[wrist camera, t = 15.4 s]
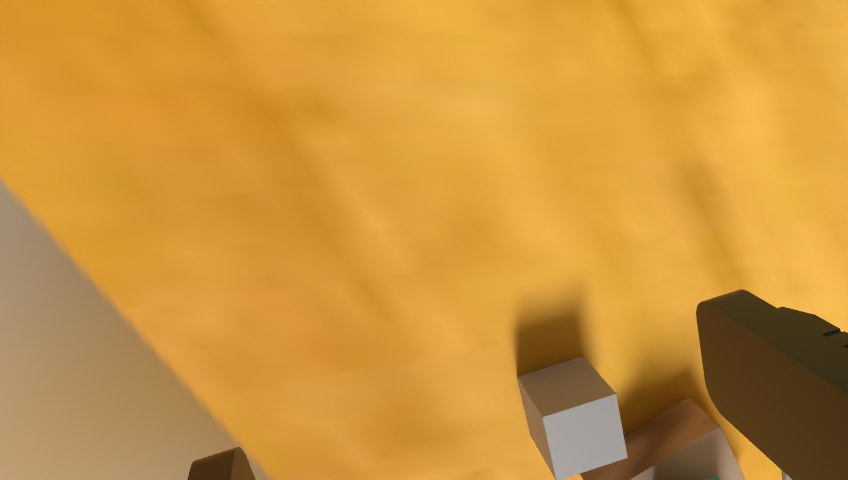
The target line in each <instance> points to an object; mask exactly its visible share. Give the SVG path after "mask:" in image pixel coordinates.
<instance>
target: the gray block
mask: <svg viewBox="0 0 848 480" xmlns="http://www.w3.org/2000/svg"><path fill="white" fill-rule="evenodd" d="M517 379H518V383H519V388H520V392H521V396H522V401H523V405H524V409H525V413H526V418H527V422H528V426H529V431H530V435H531V437H532V439H533V440H534V442H535V444H536V446H537V447H538V449H539V451H540V453H541V455H542V456H543V458H544V460H545V462H546V463H547V465H548V467H549V469H550V470H551V472H552V474H553V476H554V478H555V479H556V480H562V479H565V478H568V477H571V476H574V475H577V474H580V473H583V472H586V471H589V470H592V469H595V468H598V467H601V466H604V465H607V464H610V463H613V462H616V461H619V460H622V459H626V458H628V457H627V452H626V446H625V440H624V435H623V429H622V424H621V418H620V413H619V407H618V402H617V396H616V393H615V392H614V391H613V390H612V389H611V387H610V386H609V385H608V384H607V383H606V382H605V380H604V379H603V378H602V377H601V376H600V375H599V374H598V372H597V371H596V370H595V369H594V368H593V367H592V365H591V364H590V363H589V362H588V361H587V360H586V359H585V357H584V356H581V357H578V358H575V359H572V360H568V361H565V362H562V363H559V364H556V365H552V366H549V367H546V368H543V369H540V370H537V371H533V372H530V373H527V374H524V375H521V376H517Z"/></svg>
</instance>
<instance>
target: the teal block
mask: <svg viewBox="0 0 848 480" xmlns="http://www.w3.org/2000/svg"><path fill="white" fill-rule="evenodd" d="M706 480H721V479H720V478H719V477H714V478H710V479H706Z"/></svg>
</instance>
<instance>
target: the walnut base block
mask: <svg viewBox="0 0 848 480" xmlns="http://www.w3.org/2000/svg"><path fill="white" fill-rule="evenodd" d="M624 440H625V446H626V452H627V457H628V458H626V459H622V460H619V461H616V462H613V463H610V464H607V465H604V466H601V467H598V468H595V469H592V470H589V471H586V472H583V473H580V475H581V477H582V478H583V480H706V479H710V478H714V477H719V478H720V479H721V480H745V477H744V475H743V473H742V471H741V469H740V467H739V465H738V463H737V461H736V459H735V456H734V454H733V452H732V450H731V448H730V446H729V444H728V442H727V440H726V437H725V435H724V433H723V431H722V429H721V427H720V425H718V424H717V423H716V422H715V421H714V420H713V419H712V418H711V417H710V416H709V415H708V414H707V413H706V412H705V411H704V410H703V409H702V408H700V407H699V406H698V405H697V404H696V403H695V402H694V401H693V400H692V399H691V398H690V397H688V398H686V399H685V400H683V401H681V402H680V403H678V404H676V405H675V406H673V407H671V408H670V409H668V410H666V411H665V412H663V413H661V414H660V415H658V416H656V417H654V418H653V419H651V420H649V421H648V422H646V423H644V424H643V425H641V426H639V427H638V428H636V429H634V430H633V431H631V432H629V433H628V434H626V435H624Z"/></svg>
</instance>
